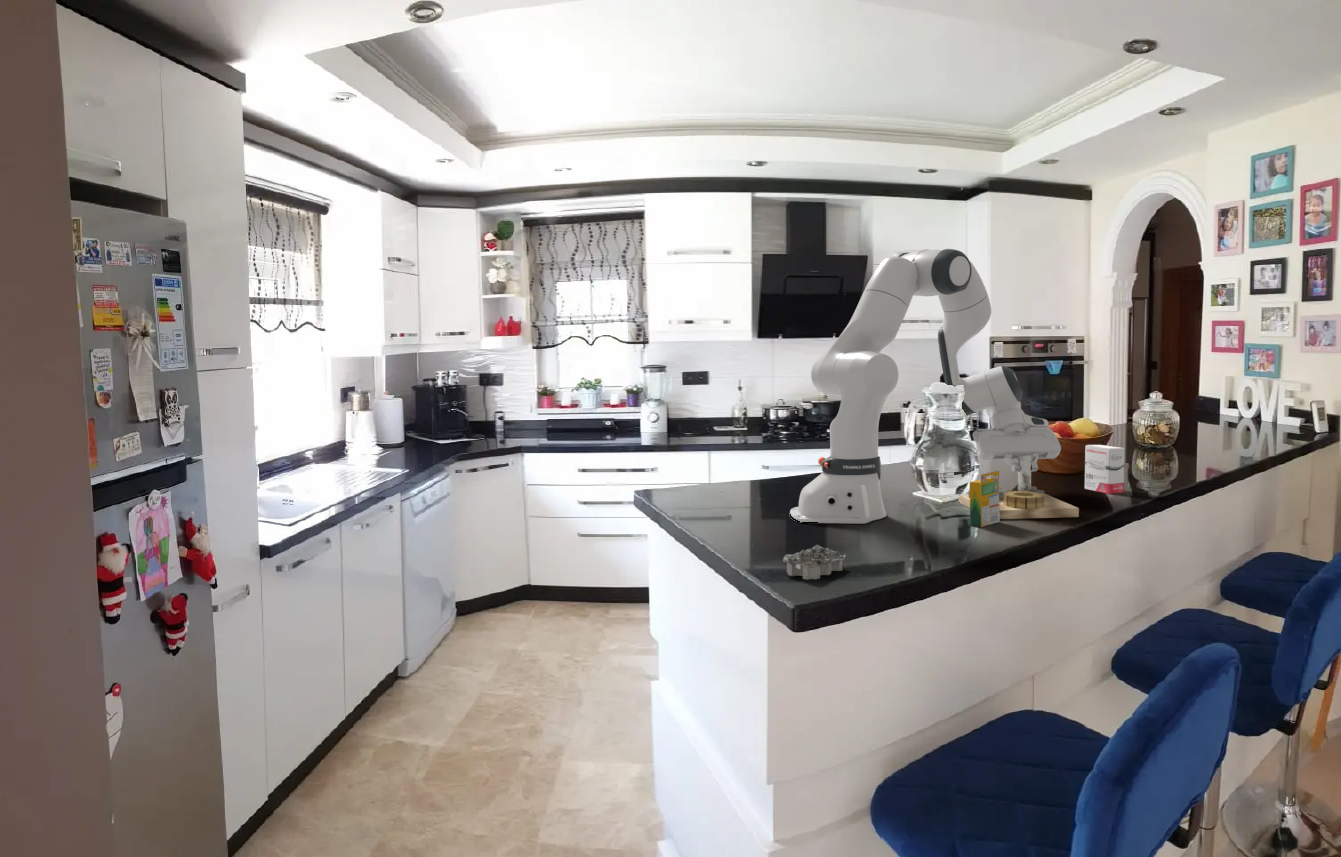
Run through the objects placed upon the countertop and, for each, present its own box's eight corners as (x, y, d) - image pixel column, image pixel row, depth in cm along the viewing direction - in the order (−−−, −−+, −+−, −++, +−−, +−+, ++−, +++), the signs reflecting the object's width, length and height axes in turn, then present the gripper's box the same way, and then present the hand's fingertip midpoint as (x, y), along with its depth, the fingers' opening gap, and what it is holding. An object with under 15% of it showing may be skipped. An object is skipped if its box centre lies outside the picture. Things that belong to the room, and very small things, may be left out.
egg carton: (811, 583, 129) (810, 560, 129) (779, 574, 135) (778, 552, 135) (850, 570, 136) (849, 548, 135) (818, 562, 142) (817, 541, 141)
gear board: (987, 519, 169) (987, 499, 169) (958, 502, 189) (958, 484, 189) (1078, 516, 168) (1078, 497, 167) (1040, 499, 188) (1040, 481, 187)
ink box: (1125, 492, 192) (1126, 447, 191) (1108, 494, 191) (1109, 448, 190) (1099, 487, 200) (1099, 443, 199) (1083, 489, 199) (1083, 444, 198)
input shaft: (1020, 491, 190) (1021, 456, 189) (1015, 489, 193) (1016, 454, 192) (1032, 491, 190) (1033, 456, 189) (1027, 489, 193) (1028, 454, 192)
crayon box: (987, 520, 169) (987, 469, 168) (1000, 522, 166) (1000, 470, 165) (969, 525, 164) (968, 473, 163) (981, 527, 162) (981, 474, 161)
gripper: (973, 421, 197) (987, 463, 189) (1053, 419, 196) (1070, 461, 187) (968, 436, 202) (980, 478, 194) (1045, 434, 201) (1062, 476, 192)
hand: (1025, 470), depth 190 cm, fingers closed on input shaft, 3 cm apart
